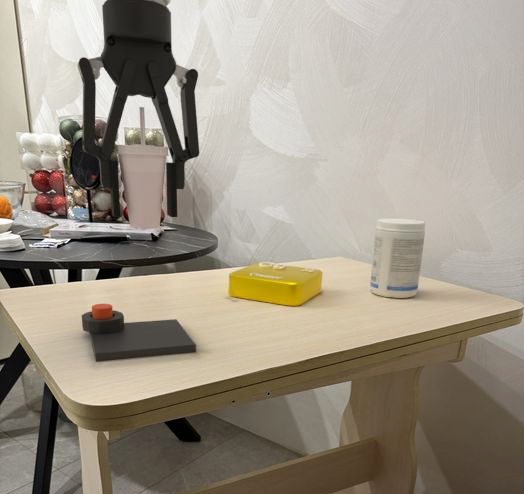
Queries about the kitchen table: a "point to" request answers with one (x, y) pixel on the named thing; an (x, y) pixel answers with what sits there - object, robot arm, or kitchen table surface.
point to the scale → (135, 338)
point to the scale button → (102, 311)
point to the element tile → (275, 283)
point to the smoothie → (143, 180)
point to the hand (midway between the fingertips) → (144, 215)
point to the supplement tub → (397, 257)
